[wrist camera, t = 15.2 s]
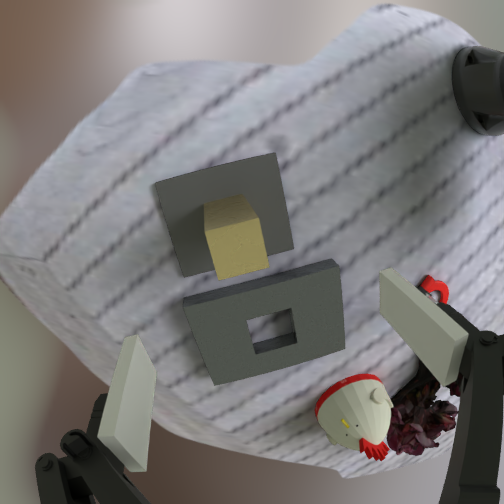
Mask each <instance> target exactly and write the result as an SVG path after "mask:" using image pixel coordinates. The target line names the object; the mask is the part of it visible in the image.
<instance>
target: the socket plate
mask: <svg viewBox="0 0 504 504" xmlns="http://www.w3.org/2000/svg"><path fill="white" fill-rule="evenodd" d="M183 309H184V312H185V314H186V317H187V319H188V322H189V325H190V327H191V330H192V332H193V335H194V337H195V340H196V342H197V345H198V347H199V350H200V352H201V355H202V357H203V360H204V362H205V364H206V367H207V369H208V372H209V374H210V376H211V379H212V381H213V383H214V386H215V385H219V384H224V383H228V382H232V381H237V380H241V379H245V378H249V377H253V376H257V375H261V374H264V373H268V372H272V371H276V370H279V369H283V368H286V367H290V366H293V365H296V364H300V363H303V362H306V361H310V360H313V359H316V358H319V357H322V356H325V355H328V354H331V353H334V352H337V351H340V350H343V349H345V331H344V316H343V303H342V290H341V279H340V269H339V265H338V264H337V263H336V262H335V261H334V260H333V259H329V260H325V261H321V262H318V263H314V264H311V265H307V266H303V267H300V268H296V269H293V270H289V271H285V272H281V273H278V274H274V275H270V276H267V277H263V278H259V279H255V280H251V281H248V282H244V283H240V284H236V285H232V286H228V287H225V288H221V289H217V290H213V291H209V292H205V293H201V294H197V295H193V296H189V297H185V298H184V302H183ZM285 309H289V314H290V319H291V325H292V330H293V333H291V334H287V335H284V336H280V337H277V338H273V339H269V340H266V341H262V342H258V343H254V344H253V343H252V339H251V336H250V332H249V329H248V325H247V322H246V320H249V319H252V318H256V317H260V316H264V315H267V314H271V313H275V312H278V311H282V310H285Z"/></svg>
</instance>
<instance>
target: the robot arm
mask: <svg viewBox="0 0 504 504" xmlns="http://www.w3.org/2000/svg"><path fill="white" fill-rule="evenodd" d="M452 80H453V89H454V93H455V97H456V101H457V104H458V106H459V109H460V111H461V113H462V115H463V117H464V118H465V120H466V121H467V123H468V124H469V125H470V126H471V127H472V128H473V129H474V130H475V131H477V132H478V133H480V134H483V135H490V136H499V135H502V134H504V53H503V52H500V51H497V50H493V49H489V48H486V47H482V46H473V47H467V48H464V49H462V50H461V51H460V52H459V53H458V54H457V56H456V58H455V60H454V64H453V71H452ZM379 277H380V314H381V315H382V316H383V317H384V318H385V319H386V320H387V322H388V323H389V324H390V325H391V326H392V327H393V328H394V329H395V331H396V332H397V333H398V334H399V335H400V336H401V337H402V339H403V340H404V341H405V342H406V343H407V344H408V346H409V347H410V348H411V349H412V350H413V351H414V353H415V354H416V355H417V356H418V357H419V358H420V360H421V361H422V362H423V363H424V364H425V366H426V367H427V368H428V369H429V370H430V372H431V373H432V374H433V375H434V376H435V378H436V379H437V380H438V381H439V382H440V384H441V385H442V386H443V387H445V386H447V385H449V384H450V383H452V382H454V381H456V379H457V376H458V373H459V371H460V372H461V373H462V375H463V379H462V382H461V385H460V388H459V391H458V392H461V396H460V405H459V412H458V419H457V426H456V432H455V438H454V443H453V449H452V453H451V458H450V462H449V467H448V471H447V475H446V479H445V483H444V487H443V490H442V494H441V497H440V501H439V504H499V500H500V489H499V488H498V487H497V486H496V485H497V477H498V470H499V462H500V453H501V442H502V427H503V395H504V334H503V335H499V336H498V335H497V334H496V333H494V332H492V331H487V330H486V331H479V330H478V329H477V328H476V327H475V326H474V325H472V324H471V323H470V322H469V321H468V320H467V319H466V318H464V317H462V315H461V314H460V313H458V312H457V311H456V310H455V309H454V308H452V307H451V306H450V305H448V304H445V303H443V302H439V303H437V304H435V303H433V302H432V301H431V300H430V299H429V298H428V297H426V296H425V295H424V294H423V293H422V292H420V291H419V290H418V289H417V288H416V287H414V286H413V285H412V284H411V283H410V282H408V281H407V280H406V279H405V278H403V277H402V276H401V275H400V274H399V273H397V272H396V271H395V270H394V269H392V268H388V269H385V270H382V271H379ZM156 377H157V371H156V370H155V368H154V366H153V364H152V362H151V360H150V358H149V356H148V354H147V352H146V350H145V348H144V346H143V344H142V342H141V340H140V338H139V336H138V335H134V336H129V337H125V339H124V342H123V345H122V349H121V352H120V355H119V358H118V362H117V365H116V368H115V372H114V375H113V378H112V382H111V386H110V389H109V393H107V394H101V395H100V396H99V397H98V399H97V400H96V401H95V404H94V407H93V412H92V414H91V419H90V421H89V425H88V428H87V433H85V432H83V431H82V430H79V429H75V430H71V431H69V432H67V433H66V434H65V435H64V436H63V438H62V439H61V443H60V446H61V449H62V450H63V452H64V453H65V454H66V455H67V457H63V458H60V459H58V458H57V457H56V456H55V455H54V454H52V453H46V454H43V455H42V456H40V457H39V459H38V460H37V462H36V465H35V470H36V478H37V485H38V490H39V496H40V501H41V504H96V502H95V499H94V497H93V494H94V496H95V497H96V499H97V500H98V502H99V503H100V504H151V503H150V502H149V501H148V500H147V499H146V498H145V497H144V495H143V494H142V493H141V492H140V491H139V490H138V489H137V488H136V486H135V485H134V484H133V483H132V482H131V481H130V480H129V478H128V477H127V476H126V475H125V474H124V473H123V471H124V466H125V467H126V468H127V469H128V470H129V471H130V472H141V471H146V468H147V457H148V446H149V436H150V426H151V417H152V408H153V400H154V392H155V384H156Z"/></svg>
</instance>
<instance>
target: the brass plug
mask: <svg viewBox="0 0 504 504" xmlns="http://www.w3.org/2000/svg"><path fill="white" fill-rule="evenodd" d="M204 228H205V235H206V238H207V242H208V246H209V249H210V253H211V256H212V260H213V263H214V267H215V270H216V273H217V277H218V280H223V279H227V278H230V277H234V276H238V275H242V274H246V273H250V272H253V271H257V270H261V269H265V268H268V267H269V263H268V258H267V253H266V249H265V244H264V239H263V235H262V230H261V226H260V221H259V217H258V216H257V214H256V213H255V211H254V210H253V209H252V207H251V206H250V204H249V203H248V201H247V200H246V198H245V197H244V195H243V194H239V195H235V196H231V197H227V198H223V199H219V200H215V201H211V202H208V203H204Z"/></svg>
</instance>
